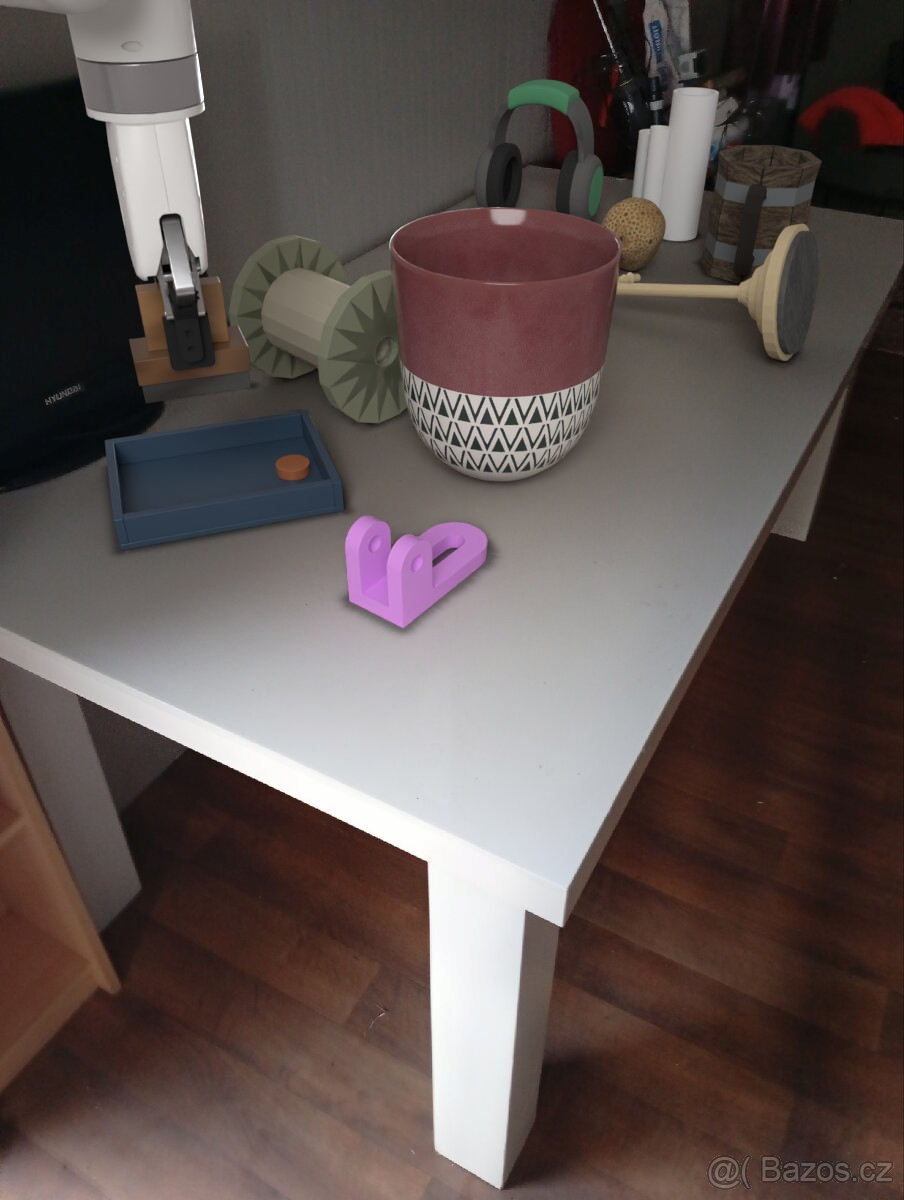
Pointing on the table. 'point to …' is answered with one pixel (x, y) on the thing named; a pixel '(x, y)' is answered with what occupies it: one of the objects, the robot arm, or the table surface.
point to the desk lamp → (762, 291)
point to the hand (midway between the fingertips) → (188, 351)
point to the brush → (198, 381)
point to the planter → (503, 333)
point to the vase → (678, 161)
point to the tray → (217, 479)
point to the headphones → (504, 162)
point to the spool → (321, 325)
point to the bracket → (408, 566)
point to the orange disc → (293, 467)
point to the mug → (755, 206)
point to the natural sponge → (636, 230)
